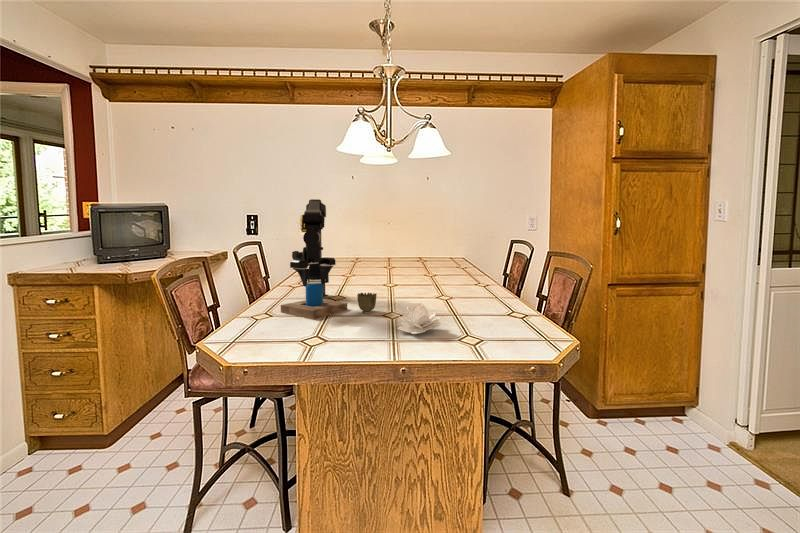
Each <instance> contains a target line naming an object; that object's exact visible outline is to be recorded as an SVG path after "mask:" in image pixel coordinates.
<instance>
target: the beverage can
mask: <svg viewBox="0 0 800 533" xmlns="http://www.w3.org/2000/svg"><path fill="white" fill-rule="evenodd" d="M305 300H306V306H311V307H316V306H321V305H323V300H324V297H323V285H322V284H321V282H318V281H313V282H308V281H307V285H306V287H305Z"/></svg>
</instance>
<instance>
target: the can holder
mask: <svg viewBox="0 0 800 533" xmlns="http://www.w3.org/2000/svg"><path fill="white" fill-rule="evenodd" d="M347 310H348V303H347V302H341V301H335V300H329V299H323V305H321V306H316V307H311V306H306V299H305V300H300V301H294V302H289V303H285V304H284V303H283V304H280V313H281V314H285V315H289V316H290V315H291V316H295V317H300V318H303V317H304V319H308V320H312V321H313V320H317V318H318V319H320V318H323V317H327V316H330V315H333V314H337V313H341V312H344V311H347Z"/></svg>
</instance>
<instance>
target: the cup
mask: <svg viewBox="0 0 800 533" xmlns="http://www.w3.org/2000/svg"><path fill="white" fill-rule="evenodd" d="M356 295H357V296H356V297H357V303H358V307H359V309H360V310H361V311H362V312H361V313H362V314H371V313H373V311H374V309H375V308H376V303H377V292H376V293H375V292H373V293H372V292H358V293H357V294H356Z"/></svg>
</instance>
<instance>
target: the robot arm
mask: <svg viewBox="0 0 800 533" xmlns="http://www.w3.org/2000/svg"><path fill="white" fill-rule="evenodd" d="M325 218H327V208H326V204H324V203H323V202H322V200H321V199H318V198H317V199H315V198H314V199H313V198H312V199H308V203H307V204H306V206H305V211H304V212H303V214H302V218H301V230H305V232H304V234H303V237H302V239H303V242H304V243H305V246H303V248H302V251H298V250H294V251H292V252H291V258H292V260H291V261H290V262H289V267H290V268H291V269H292V270H294V271H296V273H297V274H298V276H299V278H300V280H301V283H302V285H303V287H305V288H306V285H307V282H313V281H318V282H321V284H322V285H323V298H324V297H328V296H329V294H326V284H329V280H330V279H329V277H330V276H329V274H330V273H331V270H332V268H334V266H336V265H337V263H336V259H335V257H330V256H329V257H328V256H327V257H325V256H324V257H322V254H323V252H322V251H323V250H324V247H323V246H322V230H323V229H324V228H325V220H326V219H325ZM290 268H289V269H290Z"/></svg>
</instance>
